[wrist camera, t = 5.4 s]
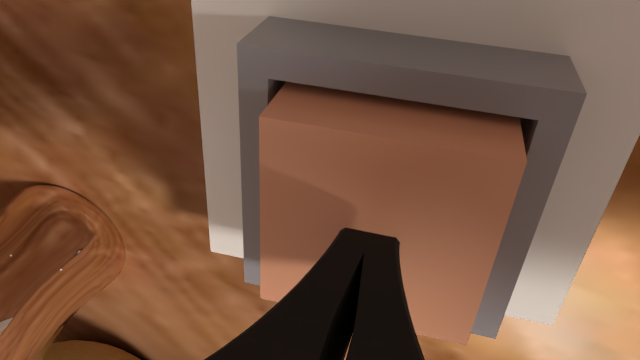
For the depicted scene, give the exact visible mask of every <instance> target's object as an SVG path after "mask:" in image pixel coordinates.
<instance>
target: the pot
mask: <svg viewBox="0 0 640 360" xmlns="http://www.w3.org/2000/svg"><path fill="white" fill-rule="evenodd" d="M43 360H141V359H139V358H137V357H136V356H134V355H132V354H130V353H128V352H126V351H124V350H122V349H119V348H116V347H113V346H111V345H107V344H103V343H98V342H94V341H81V340H70V341H63V342H56V343H52V345H51V347H50V348H49V350H48V352H47V353H46V355H45V356H44V358H43Z"/></svg>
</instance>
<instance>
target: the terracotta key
mask: <svg viewBox="0 0 640 360" xmlns="http://www.w3.org/2000/svg"><path fill="white" fill-rule="evenodd" d="M526 164H527V157H526V151H525V146H524V140H523V134H522V128H521V123H520V117H513V116H507V115H500V114H494V113H487V112H481V111H474V110H468V109H461V108H455V107H449V106H442V105H436V104H429V103H423V102H416V101H410V100H403V99H397V98H390V97H384V96H377V95H371V94H364V93H358V92H352V91H345V90H339V89H332V88H326V87H319V86H313V85H306V84H300V83H293V82H287V81H286V83H285V84H284V85H283V86H282V88H281V89H280V90H279V92H278V93H277V94H276V95H275V97H274V98H273V99H272V100H271V102H270V103H269V104H268V106H267V107H266V108H265V109H264V111H263V112H262V113H261V114H260V116H259V177H260V295H261V298H262V299H266V300H271V301H275V302H279V301H280V300H281V299H282V298H283V297H284V296H285V295H286V294H287V293H288V292H289V291H290V290H291V289H292V288H293V287H295V286H296V285H297V283H298V282H299V281H300V280H301V279H302V278H303V277H304V276H305V275H306V274H307V273H308V271H309V270H310V269H311V268H312V267H313V266H314V265H315V264H316V262H317V261H318V260H319V259H320V258H321V256H322V255H323V254H324V253H325V251H326V250H327V249H328V248H329V246H330V245H331V243H332V242H333V241H334V239H335V238H336V236H337V235H338V233H339V231H340V230H342V229H343V228H345V227H346V228H351V229H356V230H361V231H366V232H371V233H376V234H381V235H386V236H391V237H396V238H397V239H398V241H399V242H400V248H399V255H400V267H401V274H402V281H403V286H404V291H405V295H406V299H407V304H408V308H409V312H410V316H411V319H412V323H413V326H414V329H415V333H416V334H418V335H422V336H427V337H431V338H436V339H440V340H444V341H449V342H453V343H457V344H462V345H467V342H468V339H469V336H470V333H471V330H472V327H473V324H474V321H475V318H476V315H477V312H478V309H479V306H480V303H481V300H482V297H483V294H484V291H485V288H486V285H487V282H488V279H489V276H490V273H491V270H492V267H493V264H494V261H495V258H496V255H497V252H498V249H499V245H500V242H501V239H502V236H503V233H504V230H505V227H506V224H507V221H508V218H509V215H510V212H511V209H512V206H513V203H514V200H515V197H516V194H517V191H518V188H519V185H520V182H521V179H522V176H523V173H524V170H525V167H526Z"/></svg>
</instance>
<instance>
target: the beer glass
mask: <svg viewBox="0 0 640 360" xmlns="http://www.w3.org/2000/svg"><path fill="white" fill-rule="evenodd" d="M124 261H125V252H124V247H123V244H122V241H121V238H120V236H119V234H118V232H117V230H116V229H115V227H114V226H113V224H112V223H111V222H110V220H109V219H108V218H107V217H106V216H105V215H104V214H103V213H102V212H101V211H100V210H99V209H98V208H97V207H96V206H94V205H93V204H92V203H91V202H89V201H88V200H86V199H85V198H83V197H81V196H80V195H78V194H76V193H74V192H72V191H69V190H67V189H64V188H61V187H57V186H51V185H33V186H29V187H27V188H24V189H22V190H21V191H19V192H18V193H17V194H15V195H14V196H13V197H12V198H11V199H10V200H9V202H8V203H7V204H6V205H5V206H4V207H3V209H2V210H1V211H0V360H43V358H44V356H45V355H46V353H47V352H48V350H49V348H50V347H51V345H52V343H53V342H54V340H55V339H56V337H57V336H58V334H59V333H60V332H61V330H62V329H63V328H64V326H65V325H66V324H67V322H68V321H69V320H70V319H71V318H72V317H73V316H74V315H75V314H76V313H77V311H78V310H79V309H81V308H82V307H83V306H84V305H85V304H86V303H87V302H88V301H89V300H91V299H92V298H93V297H94V296H96V295H97V294H98V293H99V292H101V291H102V290H103V289H104V288H106V287H107V286H108V285H109V284H110V283H111V282H112V281H114V280H115V279H116V277H117V276H118V275H119V274H120V272H121V270H122V268H123V266H124Z"/></svg>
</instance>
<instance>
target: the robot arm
mask: <svg viewBox="0 0 640 360" xmlns="http://www.w3.org/2000/svg"><path fill="white" fill-rule="evenodd" d="M399 248H400V242H399V241H398V239H397V238H396V237H391V236H386V235H381V234H376V233H371V232H366V231H361V230H356V229H351V228H346V227H345V228H343V229H342V230H340V231H339V233H338V235H337V236H336V238H335V239H334V241H333V242H332V243H331V245H330V246H329V248H328V249H327V250H326V251H325V253H324V254H323V255H322V256H321V258H320V259H319V260H318V261H317V262H316V264H315V265H314V266H313V267H312V268H311V269H310V270H309V271H308V273H307V274H306V275H305V276H304V277H303V278H302V279H301V280H300V281H299V282H298V283H297V285H296V286H295V287H293V288H292V289H291V290H290V291H289V292H288V293H287V294H286V295H285V296H284V297H283V298H282V299H281V300H280V301H279V302H278V303H277V304H276V305H275V306H274V307H273V308H272V309H271V310H269V311H268V312H267V313H266V314H265V315H264V316H263V317H261V318H260V319H259V320H258V321H257V322H255V323H254V324H253V325H252V326H250V327H249V328H248V329H247V330H245V331H244V332H243V333H241V334H240V335H239V336H237V337H236V338H235V339H233V340H232V341H231V342H229V343H228V344H227V345H225V346H224V347H222V348H221V349H220V350H218V351H217V352H215V353H214V354H212V355H211V356H209V357H208V358H206V359H205V360H344V357H345V354H346V351H347V348H348V345H349V342H350V339H351V336H352V339H351V342H350V346H349V350H348V354H347V358H346V360H425V359H424V356H423V354H422V351H421V348H420V345H419V342H418V339H417V336H416V333H415V329H414V326H413V323H412V319H411V316H410V312H409V308H408V304H407V299H406V295H405V291H404V286H403V281H402V274H401V267H400V255H399ZM352 333H353V335H352Z"/></svg>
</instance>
